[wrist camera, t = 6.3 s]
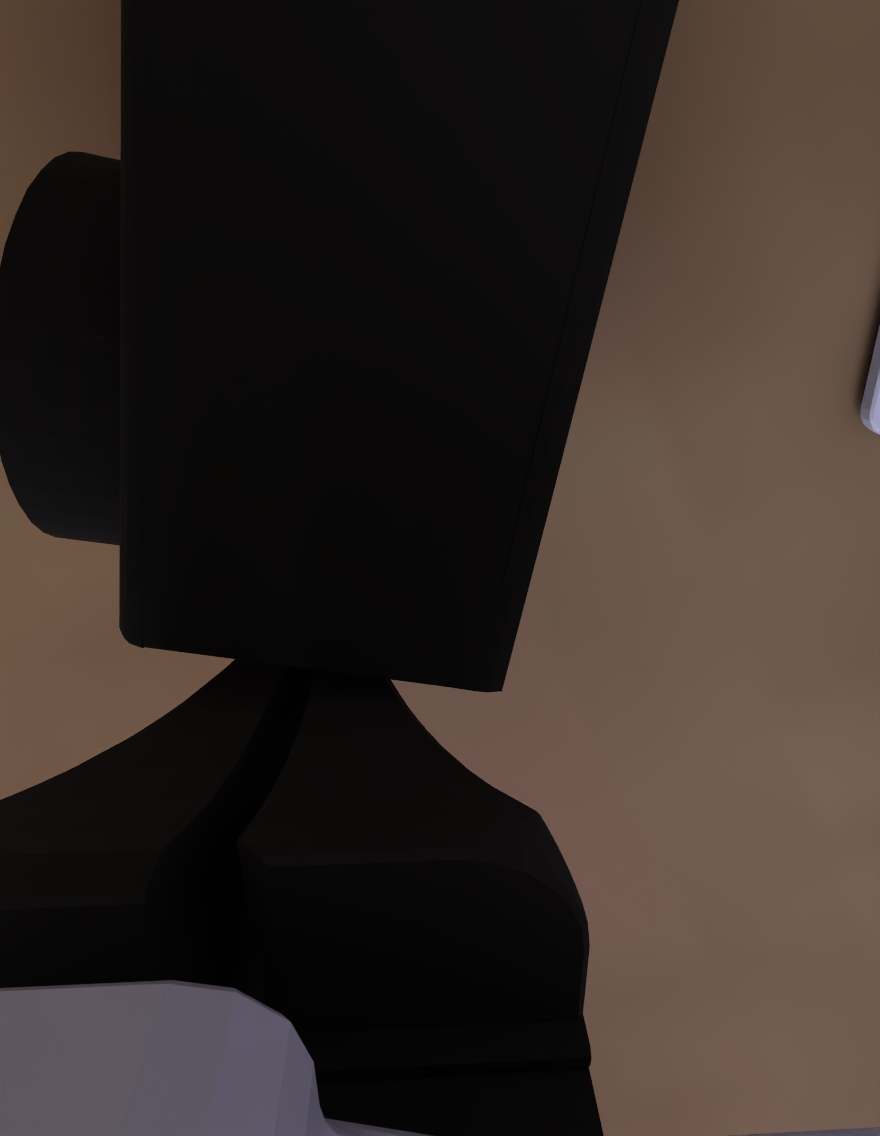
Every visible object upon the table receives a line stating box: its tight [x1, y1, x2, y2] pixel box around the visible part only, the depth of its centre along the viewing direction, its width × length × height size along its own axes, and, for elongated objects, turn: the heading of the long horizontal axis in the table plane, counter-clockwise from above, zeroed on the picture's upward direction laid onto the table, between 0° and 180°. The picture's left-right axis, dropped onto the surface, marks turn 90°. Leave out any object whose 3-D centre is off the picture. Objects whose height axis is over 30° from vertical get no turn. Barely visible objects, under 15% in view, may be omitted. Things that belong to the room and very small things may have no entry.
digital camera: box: [0, 0, 679, 692], centre depth 9 cm, size 10×5×7 cm, turn 170°
